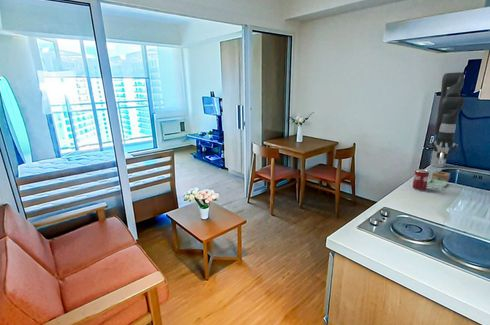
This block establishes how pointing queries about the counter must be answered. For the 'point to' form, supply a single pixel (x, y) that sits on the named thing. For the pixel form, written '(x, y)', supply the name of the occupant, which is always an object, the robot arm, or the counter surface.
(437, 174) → the tan and green block
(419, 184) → the soda can
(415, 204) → the counter surface
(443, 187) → the tray
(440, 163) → the lock pin
